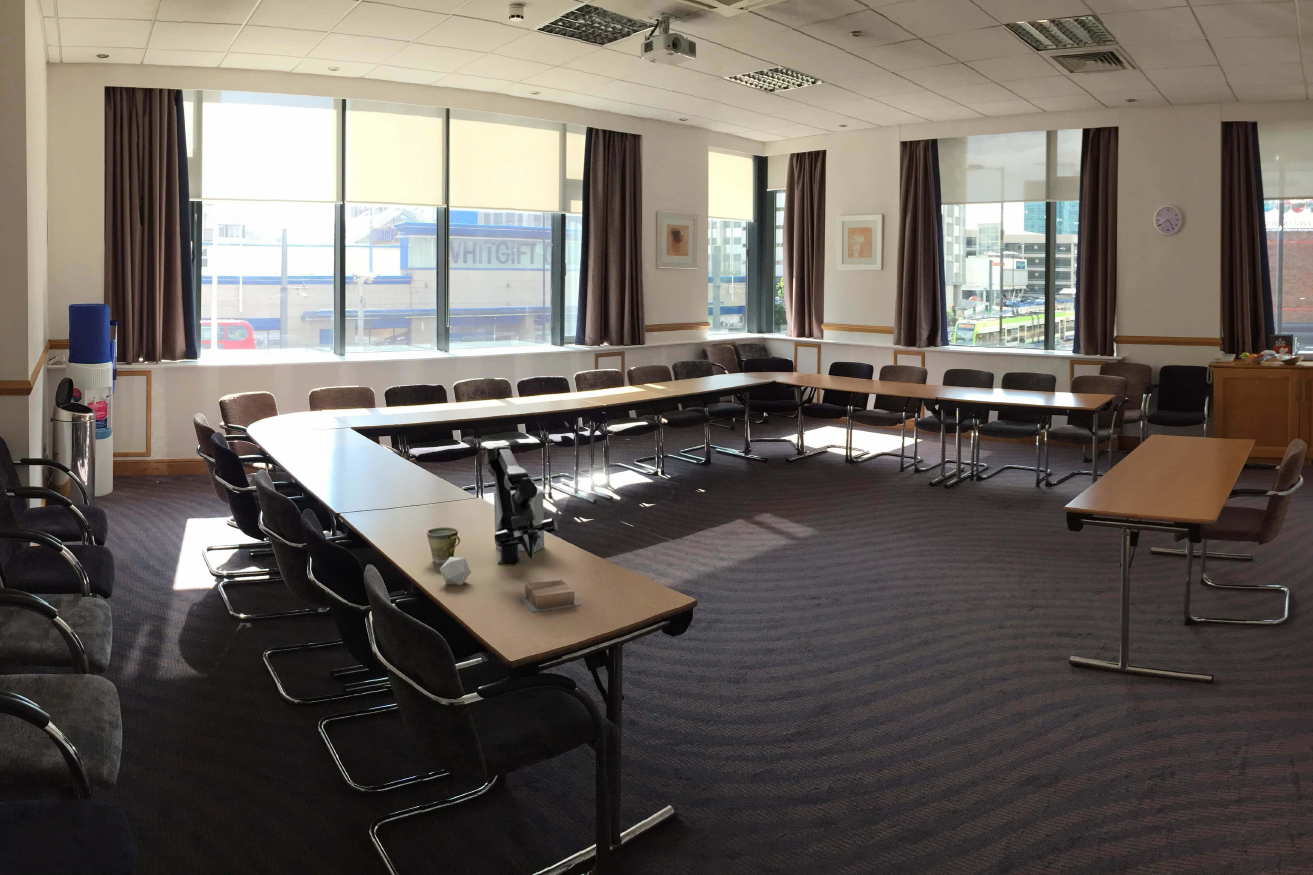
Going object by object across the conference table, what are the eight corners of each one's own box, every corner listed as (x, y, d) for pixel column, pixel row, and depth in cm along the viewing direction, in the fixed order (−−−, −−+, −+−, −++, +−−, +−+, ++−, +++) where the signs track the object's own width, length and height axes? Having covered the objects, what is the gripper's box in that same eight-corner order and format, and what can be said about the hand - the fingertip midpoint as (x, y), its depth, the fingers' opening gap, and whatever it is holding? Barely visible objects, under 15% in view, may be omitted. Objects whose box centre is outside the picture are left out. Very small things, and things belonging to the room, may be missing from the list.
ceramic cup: (421, 561, 308) (420, 531, 306) (444, 554, 316) (443, 525, 315) (448, 568, 301) (447, 538, 299) (471, 560, 309) (470, 531, 307)
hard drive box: (545, 546, 326) (544, 490, 322) (536, 552, 318) (535, 495, 315) (504, 543, 330) (503, 488, 327) (494, 548, 323) (493, 492, 319)
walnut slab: (524, 583, 272) (537, 596, 261) (560, 578, 277) (574, 590, 266) (524, 596, 273) (537, 609, 262) (560, 591, 277) (574, 604, 266)
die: (475, 582, 289) (464, 554, 292) (471, 576, 281) (460, 548, 283) (450, 593, 287) (439, 565, 290) (445, 588, 279) (434, 559, 282)
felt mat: (520, 599, 272) (520, 598, 271) (566, 592, 277) (566, 591, 277) (532, 612, 261) (532, 611, 261) (580, 605, 267) (580, 604, 267)
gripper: (486, 510, 281) (494, 560, 276) (545, 495, 281) (555, 545, 275) (495, 519, 292) (504, 567, 286) (553, 505, 291) (562, 553, 286)
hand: (531, 558), depth 283 cm, fingers closed
